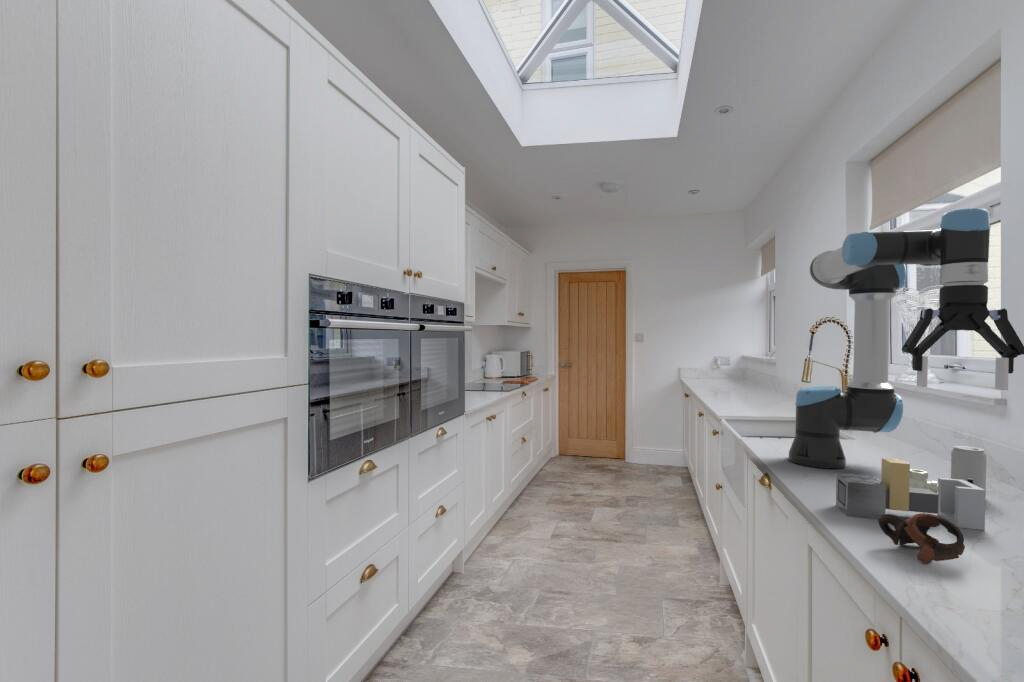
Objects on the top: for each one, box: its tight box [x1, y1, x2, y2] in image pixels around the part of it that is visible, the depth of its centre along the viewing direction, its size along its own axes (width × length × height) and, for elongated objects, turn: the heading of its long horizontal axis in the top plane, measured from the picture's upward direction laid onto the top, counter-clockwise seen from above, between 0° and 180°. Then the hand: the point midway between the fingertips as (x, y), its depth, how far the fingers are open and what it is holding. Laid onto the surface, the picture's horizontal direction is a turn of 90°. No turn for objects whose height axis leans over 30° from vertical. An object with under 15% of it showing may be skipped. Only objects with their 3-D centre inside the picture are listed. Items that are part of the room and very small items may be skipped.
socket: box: [936, 477, 987, 531], centre depth 107 cm, size 8×4×8 cm, turn 164°
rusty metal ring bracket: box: [877, 512, 966, 565], centre depth 90 cm, size 12×10×8 cm
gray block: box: [835, 472, 886, 520], centre depth 112 cm, size 7×7×7 cm
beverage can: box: [950, 445, 987, 498], centre depth 125 cm, size 6×6×12 cm
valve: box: [909, 468, 973, 494], centre depth 120 cm, size 7×7×12 cm
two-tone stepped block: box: [838, 457, 939, 515], centre depth 110 cm, size 4×17×10 cm, turn 74°
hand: (960, 388), depth 106 cm, fingers open, 13 cm apart
